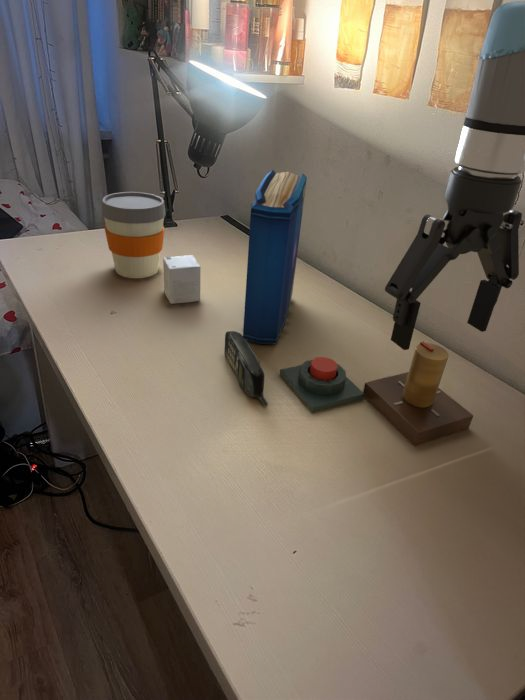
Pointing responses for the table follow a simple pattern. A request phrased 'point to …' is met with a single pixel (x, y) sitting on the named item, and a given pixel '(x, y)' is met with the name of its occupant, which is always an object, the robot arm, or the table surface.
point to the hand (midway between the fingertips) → (439, 335)
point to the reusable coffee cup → (134, 232)
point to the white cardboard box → (181, 279)
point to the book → (272, 254)
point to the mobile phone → (245, 365)
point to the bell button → (323, 368)
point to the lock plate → (416, 411)
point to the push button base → (320, 388)
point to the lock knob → (425, 374)
